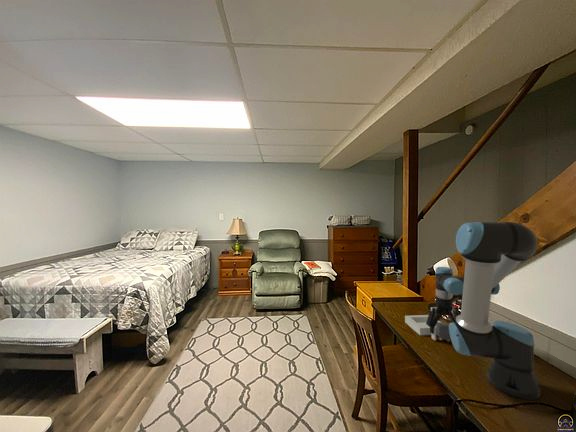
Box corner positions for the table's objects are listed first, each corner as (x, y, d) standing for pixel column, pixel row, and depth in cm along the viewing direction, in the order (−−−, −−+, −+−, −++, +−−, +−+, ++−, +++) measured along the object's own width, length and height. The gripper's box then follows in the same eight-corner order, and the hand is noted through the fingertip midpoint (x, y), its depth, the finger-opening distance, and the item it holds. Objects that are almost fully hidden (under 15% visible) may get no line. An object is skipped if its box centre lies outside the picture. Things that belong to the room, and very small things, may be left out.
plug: (452, 341, 128) (452, 326, 128) (442, 342, 128) (442, 326, 127) (445, 337, 133) (445, 322, 133) (436, 337, 133) (436, 322, 132)
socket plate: (448, 334, 135) (448, 326, 135) (420, 335, 135) (419, 327, 135) (430, 321, 151) (430, 313, 151) (405, 322, 151) (404, 314, 151)
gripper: (460, 294, 134) (460, 334, 134) (418, 295, 133) (418, 336, 133) (470, 299, 126) (470, 341, 127) (426, 300, 125) (426, 343, 126)
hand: (444, 338), depth 130 cm, fingers open, 10 cm apart
